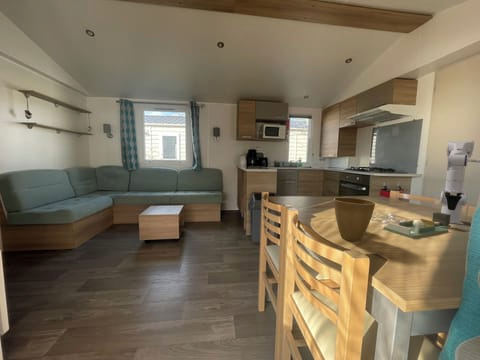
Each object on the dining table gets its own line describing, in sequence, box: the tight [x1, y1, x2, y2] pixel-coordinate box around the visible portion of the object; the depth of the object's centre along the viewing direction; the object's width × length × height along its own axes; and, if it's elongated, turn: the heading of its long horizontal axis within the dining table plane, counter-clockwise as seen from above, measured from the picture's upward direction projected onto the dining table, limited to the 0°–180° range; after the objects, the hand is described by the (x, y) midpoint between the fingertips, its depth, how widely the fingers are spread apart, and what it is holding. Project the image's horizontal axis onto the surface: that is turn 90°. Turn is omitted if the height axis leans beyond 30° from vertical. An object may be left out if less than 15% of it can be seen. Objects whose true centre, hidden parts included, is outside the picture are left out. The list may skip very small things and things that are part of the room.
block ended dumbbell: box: [419, 211, 451, 226], centre depth 100 cm, size 14×5×5 cm, turn 111°
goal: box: [387, 218, 420, 235], centre depth 92 cm, size 6×9×4 cm
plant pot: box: [333, 196, 376, 242], centre depth 84 cm, size 15×15×16 cm
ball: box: [412, 219, 424, 228], centre depth 95 cm, size 4×4×4 cm
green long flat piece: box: [383, 219, 452, 239], centre depth 97 cm, size 36×12×3 cm, turn 111°
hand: (451, 208), depth 97 cm, fingers open, 7 cm apart
